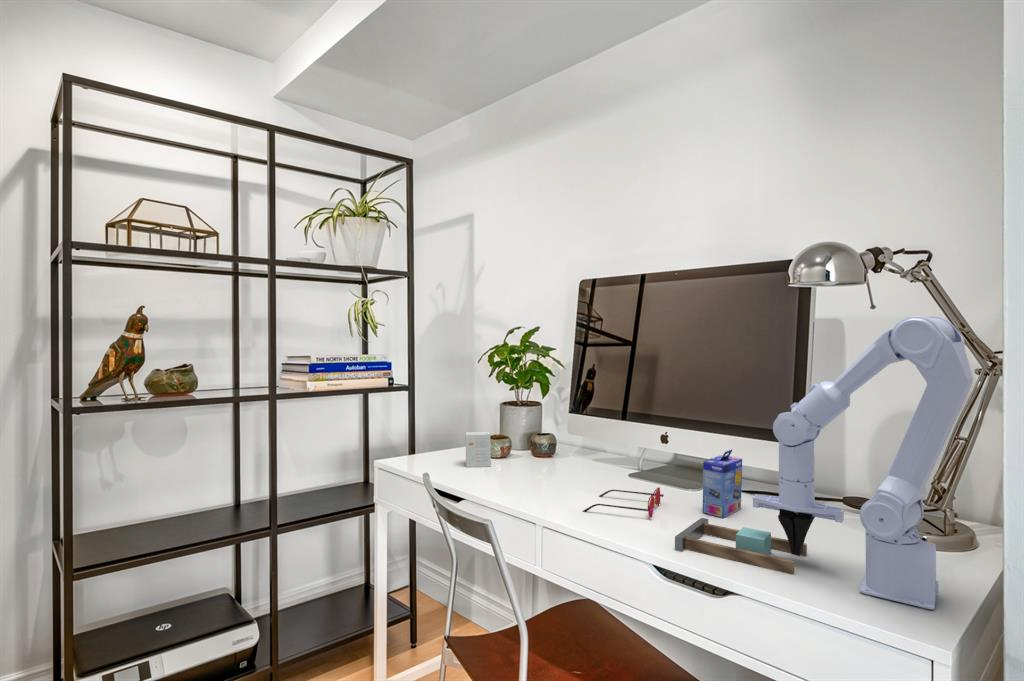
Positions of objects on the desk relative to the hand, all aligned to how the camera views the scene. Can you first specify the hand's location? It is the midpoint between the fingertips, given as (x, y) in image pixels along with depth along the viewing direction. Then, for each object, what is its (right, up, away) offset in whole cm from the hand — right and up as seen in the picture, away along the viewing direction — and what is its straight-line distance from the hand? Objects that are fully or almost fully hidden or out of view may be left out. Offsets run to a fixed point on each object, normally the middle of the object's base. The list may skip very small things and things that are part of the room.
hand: (796, 553), depth 101 cm
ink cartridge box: (-2, -2, +30) cm, 30 cm away
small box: (-62, -2, +80) cm, 101 cm away
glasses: (-24, -2, +34) cm, 42 cm away
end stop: (-15, -2, +12) cm, 19 cm away
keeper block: (-6, -2, +5) cm, 8 cm away
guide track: (-7, -2, +6) cm, 9 cm away
